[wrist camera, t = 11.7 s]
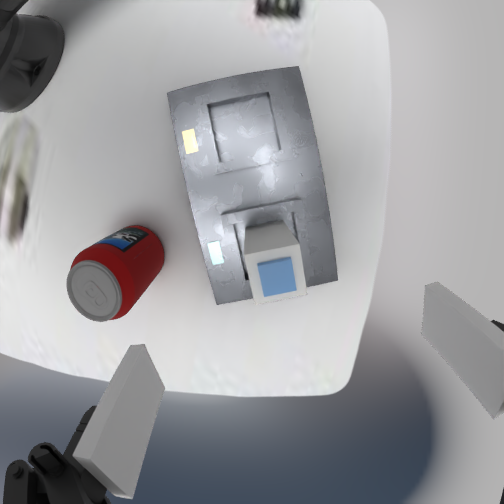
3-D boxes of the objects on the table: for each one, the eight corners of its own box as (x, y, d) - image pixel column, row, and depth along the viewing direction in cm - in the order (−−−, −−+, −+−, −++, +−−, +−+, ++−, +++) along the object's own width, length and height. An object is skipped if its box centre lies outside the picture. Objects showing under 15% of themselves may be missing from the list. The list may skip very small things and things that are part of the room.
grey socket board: (170, 96, 28) (161, 88, 24) (296, 70, 27) (301, 59, 24) (218, 299, 34) (214, 313, 31) (334, 275, 33) (343, 287, 30)
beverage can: (141, 211, 31) (89, 235, 20) (178, 257, 33) (144, 302, 21) (104, 247, 32) (48, 283, 21) (139, 289, 34) (97, 341, 22)
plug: (245, 227, 30) (243, 257, 20) (282, 219, 30) (300, 246, 20) (252, 263, 31) (255, 308, 21) (289, 256, 31) (308, 297, 21)
